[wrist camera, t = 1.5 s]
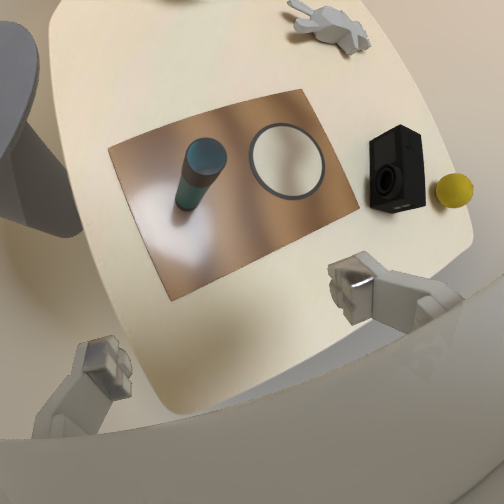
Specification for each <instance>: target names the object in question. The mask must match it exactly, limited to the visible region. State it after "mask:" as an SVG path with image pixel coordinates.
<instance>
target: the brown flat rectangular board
mask: <svg viewBox="0 0 504 504" xmlns="http://www.w3.org/2000/svg"><path fill="white" fill-rule="evenodd" d="M203 137H208V138H213V139H215V140H217V141H219V142H220V143H221V144H222V145H223V146H224V148H225V150H226V152H227V163H226V165H225V167H224V169H223V170H222V172H221V173H220V175H219V176H218V177H217V179H216V180H215V182H214V183H213V184H212V185H211V186H210V187H209V189H208V190H207V192H206V193H205V195H204V196H203V198H202V200H201V201H200V203H199V205H198V206H197V207H196V208H195V209H194V210H192V211H183V210H181V209H180V208H179V207H178V206H177V205H176V202H175V196H176V192H177V189H178V185H179V181H180V177H181V174H182V165H183V161H184V157H185V154H186V150H187V148H188V146H189V145H190V144H191V143H192V142H193V141H194V140H196V139H199V138H203ZM108 151H109V154H110V157H111V159H112V162H113V165H114V168H115V171H116V173H117V176H118V179H119V181H120V184H121V187H122V189H123V192H124V194H125V197H126V200H127V202H128V205H129V207H130V210H131V212H132V215H133V217H134V219H135V222H136V224H137V227H138V229H139V231H140V234H141V236H142V238H143V241H144V243H145V245H146V248H147V250H148V252H149V254H150V257H151V259H152V261H153V263H154V265H155V268H156V270H157V272H158V274H159V276H160V278H161V281H162V283H163V285H164V287H165V289H166V291H167V293H168V295H169V297H170V299H171V301H173V300H175V299H178V298H180V297H182V296H184V295H186V294H188V293H190V292H192V291H194V290H196V289H198V288H200V287H202V286H204V285H206V284H208V283H210V282H212V281H214V280H216V279H219V278H221V277H223V276H225V275H227V274H229V273H231V272H233V271H235V270H237V269H239V268H241V267H243V266H245V265H247V264H249V263H251V262H253V261H255V260H257V259H259V258H261V257H263V256H265V255H267V254H269V253H271V252H273V251H275V250H277V249H279V248H281V247H283V246H285V245H287V244H289V243H291V242H293V241H295V240H297V239H299V238H301V237H304V236H306V235H308V234H310V233H312V232H314V231H316V230H318V229H320V228H322V227H324V226H326V225H328V224H330V223H332V222H334V221H336V220H338V219H339V218H341V217H343V216H345V215H347V214H349V213H351V212H353V211H355V210H357V209H359V208H360V207H359V205H358V202H357V200H356V198H355V195H354V193H353V191H352V188H351V186H350V184H349V182H348V179H347V177H346V175H345V173H344V171H343V168H342V166H341V164H340V162H339V160H338V158H337V156H336V154H335V151H334V149H333V147H332V145H331V143H330V141H329V139H328V137H327V135H326V133H325V131H324V129H323V127H322V125H321V124H320V122H319V120H318V118H317V116H316V114H315V112H314V110H313V108H312V107H311V105H310V103H309V101H308V99H307V97H306V96H305V94H304V92H303V90H302V89H298V90H293V91H288V92H283V93H278V94H274V95H269V96H265V97H260V98H256V99H252V100H248V101H244V102H240V103H236V104H233V105H229V106H225V107H222V108H218V109H215V110H212V111H208V112H205V113H202V114H198V115H195V116H192V117H189V118H186V119H183V120H180V121H177V122H174V123H171V124H168V125H165V126H163V127H160V128H157V129H154V130H152V131H149V132H147V133H144V134H141V135H139V136H136V137H134V138H131V139H129V140H126V141H124V142H122V143H119V144H117V145H114V146H112V147H110V148H108Z"/></svg>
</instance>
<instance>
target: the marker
mask: <svg viewBox="0 0 504 504" xmlns="http://www.w3.org/2000/svg"><path fill="white" fill-rule="evenodd" d="M226 163H227V152H226V150H225V148H224V146H223V145H222V144H221V143H220V142H219V141H217V140H215V139H213V138H208V137H203V138H199V139H196V140H194V141H193V142H192V143H191V144H190V145H189V146H188V148H187V150H186V154H185V157H184V161H183V165H182V174H181V177H180V181H179V185H178V189H177V192H176V196H175V202H176V205H177V206H178V207H179V208H180V209H181V210H183V211H192V210H194V209H195V208H196V207H197V206H198V205H199V203H200V201H201V200H202V198H203V196H204V195H205V193H206V192H207V190H208V189H209V187H210V186H211V185H212V184H213V183H214V182H215V180H216V179H217V177H218V176H219V175H220V173H221V172H222V170H223V169H224V167H225V165H226Z"/></svg>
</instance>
